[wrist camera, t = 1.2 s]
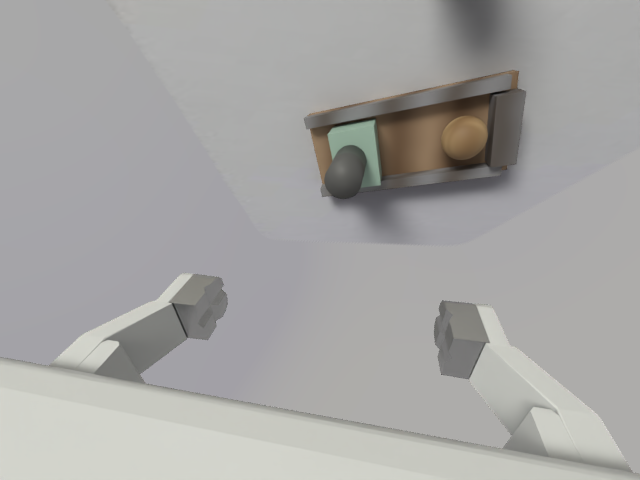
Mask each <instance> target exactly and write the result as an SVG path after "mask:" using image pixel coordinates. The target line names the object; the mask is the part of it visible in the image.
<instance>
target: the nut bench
mask: <svg viewBox="0 0 640 480" xmlns="http://www.w3.org/2000/svg"><path fill="white" fill-rule="evenodd" d="M518 74H519V71H515V70H513V71H508V72H503V73H499V74H494V75H489V76H484V77H480V78H475V79H470V80H466V81H461V82H456V83H452V84H447V85H442V86H438V87H433V88H428V89H424V90H419V91H414V92H410V93H405V94H400V95H396V96H391V97H386V98H382V99H377V100H372V101H368V102H363V103H358V104H354V105H349V106H344V107H340V108H335V109H330V110H326V111H321V112H316V113H312V114H309V115H308V116H307V117H305V118H304V121H305V125H306V129H310V131H311V135H312V140H313V144H314V148H315V153H316V157H317V162H318V166H319V170H320V175H321V179H322V183H323V185H322V187H321V188H320V189H321V193H322V197H326V196H333V195H331V194H330V193H329V192H328V190H327V189H326V187H325V183H324V178H325V174H326V172H327V170H328V168H329V166H330V164H331V163H332V161H333V160H332V155H331V150H330V145H329V140H328V135H327V134H328V133H329V132H330V131H331V129H332V128H333V127H334V126H338V125H343V124H348V123H353V122H358V121H363V120H369V119H374V118H376V125H377V133H378V142H379V151H380V160H381V169H382V177H381V185H378V186H370V187H362V188H360V190H359V192H368V191H376V190H384V189H393V188H401V187H409V186H418V185H426V184H434V183H443V182H451V181H459V180H468V179H476V178H484V177H493V176H501V170H507V165H514V164H516V161H517V154H518V147H519V140H520V133H521V125H522V118H523V111H524V104H525V97H526V91H524V90H521V89H518V88H517V82H518ZM461 116H474V117H477V118H479V119H481V120H482V121H483V122H484V124H485V125H486V127H487V131H488V138H487V142H486V144H485V146H484V148H483V149H482V150H481V151H480V152H479V153H478V154H477V155H475V156H474V157H472V158H469V159H465V160H456V159H453V158H451V157H449V156H448V155H447V154H446V153H445V152H444V151H443V149H442V145H441V137H442V133H443V131H444V129H445V128H446V126H447V125H448V124H449V123H450V122H451V121H453V120H454V119H456V118H458V117H461ZM359 192H358V193H359Z"/></svg>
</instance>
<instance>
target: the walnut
mask: <svg viewBox="0 0 640 480" xmlns="http://www.w3.org/2000/svg"><path fill="white" fill-rule="evenodd" d="M487 138H488V131H487V127H486V125H485V124H484V122H483V121H482V120H481V119H479V118H477V117H474V116H461V117H458V118H456V119H454V120H453V121H451V122H450V123H449V124H448V125H447V126H446V128H445V129H444V131H443V133H442V137H441V145H442V149H443V151H444V152H445V153H446V154H447V155H448V156H449V157H451V158H453V159H456V160H465V159H469V158H472V157H474V156H475V155H477V154H478V153H479V152H480V151H481V150H482V149H483V148H484V146H485V144H486V142H487Z"/></svg>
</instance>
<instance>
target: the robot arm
mask: <svg viewBox="0 0 640 480" xmlns="http://www.w3.org/2000/svg"><path fill="white" fill-rule="evenodd" d="M223 285H224V284H223V281H222V279H221V278H219V277H214V276H207V275H198V274H189V273H183V274H181V275H180V276H179V277H178V278H177V279H176V280H175V281H174V282H173V283H172V284H171V285H170V286H169V287H168V289H167V290H166V291H165V292H164V293H163V294H162V295H161V296H160V297H159V298H158V299H157V300H156V301H151V302H149V303H147V304H144V305H142V306H140V307H138V308H136V309H134V310H132V311H130V312H128V313H126V314H124V315H122V316H120V317H118V318H116V319H114V320H112V321H109V322H107V323H105V324H103V325H101V326H99V327H97V328H95V329H93V330H91V331H89V332H87V333H85V334H83V335H81V336H80V337H79V338H78V339H77V340H76V341H75V342H74V343H73V344H72V345H71V346H69V347H68V348H67V349H66V350H65V351H64V352H63V353H62V354H61V355H60V356H59V357H58V358H56V359H55V360H54V361H53V362H52V363H51V364H50V365H49V366H47V365H41V364H36V363H31V362H25V361H20V360H14V359H9V358H3V357H0V480H640V474H638V473H633V472H632V470H631V468H630V467H629V465H628V463H627V462H626V460H625V458H624V457H623V455H622V453H621V452H620V450H619V449H618V447H617V445H616V443H615V442H614V440H613V438H612V437H611V435H610V433H609V432H608V430H607V428H606V427H605V425H604V424H603V422H602V420H601V418H600V417H599V416H598V415H597V414H596V413H595V412H594V411H592V410H591V409H590V408H588V407H587V406H586V405H585V404H584V403H583V402H582V401H580V400H579V399H578V398H577V397H576V396H574V395H573V394H572V393H571V392H569V391H568V390H567V389H566V388H565V387H563V386H562V385H561V384H560V383H559V382H557V381H556V380H555V379H554V378H553V377H551V376H550V375H549V374H548V373H547V372H545V371H544V370H543V369H542V368H541V367H539V366H538V365H537V364H536V363H535V362H533V361H532V360H531V359H530V358H529V357H527V356H526V355H525V354H524V353H522V352H521V351H520V350H519V349H518V348H516V347H513V346H510V344H509V342H508V340H507V337H506V335H505V333H504V331H503V329H502V326H501V324H500V322H499V320H498V318H497V315H496V313H495V311H494V309H493V307H492V306H491V305H485V304H472V303H462V302H452V301H442V302H441V303H440V306H439V312H440V315H439V316H438V317H437V318H436V321H435V326H434V338H435V345H436V346H437V347H438V348H439V349H440V350H439V354H438V361H439V366H440V371H441V375H447V376H453V377H458V378H465V379H469V382H470V383H471V384H472V385H473V387H474V388H475V389H476V390H477V392H478V393H479V394H480V396H481V397H482V398H483V399H484V401H485V402H486V403H487V405H488V406H489V407H490V409H491V410H492V411H493V412H494V414H495V415H496V416H497V417H498V419H499V420H500V421H501V423H502V424H503V425H504V426H505V428H506V429H507V430H508V432H509V433H510V434H511V435H512V436H511V438H510V439H509V440H508V442H507V443H506V444H505V446H504V447H503V449H501V448H496V447H491V446H484V445H479V444H474V443H468V442H463V441H458V440H452V439H447V438H441V437H436V436H430V435H425V434H419V433H414V432H408V431H403V430H397V429H392V428H386V427H380V426H375V425H370V424H364V423H359V422H354V421H348V420H343V419H337V418H331V417H326V416H321V415H315V414H310V413H304V412H298V411H293V410H288V409H282V408H277V407H271V406H266V405H260V404H255V403H249V402H243V401H238V400H233V399H227V398H221V397H216V396H211V395H205V394H200V393H194V392H189V391H183V390H177V389H172V388H167V387H161V386H156V385H150V384H146V383H145V382H144V380H143V379H142V377H141V375H140V374H141V373H142V372H144V371H145V370H146V369H148V368H149V367H150V366H152V365H153V364H154V363H156V362H157V361H158V360H160V359H161V358H162V357H164V356H165V355H166V354H168V353H169V352H170V351H172V350H173V349H174V348H176V347H177V346H178V345H180V344H181V343H182V342H184V341H185V340H186V339H187V338H194V339H202V340H208V339H209V338H210V336H211V334H212V333H213V331H214V329H215V328H216V321H217V320H218V319H220V318H221V317H222V316H223V315H224V313H225V311H226V308H227V304H228V302H227V301H228V300H227V294H226V293H225V292H224V291H223V290H222V287H223Z"/></svg>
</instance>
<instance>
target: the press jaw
mask: <svg viewBox="0 0 640 480" xmlns="http://www.w3.org/2000/svg"><path fill="white" fill-rule="evenodd" d="M327 135H328V140H329V145H330V150H331V155H332V160H333V161H332V163H331V164H330V166H329V168H328V170H327V172H326V174H325V178H324V183H325V187H326V189H327V190H328V192H329V193H330V194H331V195H333V196H334V197H337V198H340V199H347V198H351V197H353V196H354V195H356V194H357V193H358V192H359V190H360V188H362V187H370V186H378V185H381V177H382V169H381V160H380V151H379V142H378V133H377V125H376V118H374V119H369V120H363V121H358V122H353V123H348V124H343V125H338V126H334V127H333V128H332V129H331V131H330V132H329V133H328V134H327Z"/></svg>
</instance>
